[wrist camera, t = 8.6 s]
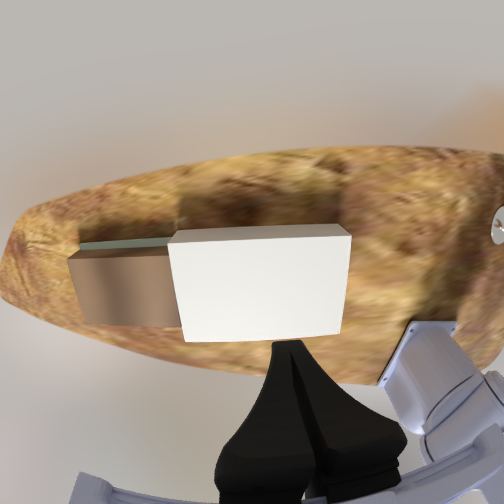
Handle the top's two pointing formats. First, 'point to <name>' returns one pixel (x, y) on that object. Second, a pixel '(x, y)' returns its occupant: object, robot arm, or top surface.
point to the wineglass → (498, 226)
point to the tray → (260, 281)
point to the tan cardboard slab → (125, 286)
